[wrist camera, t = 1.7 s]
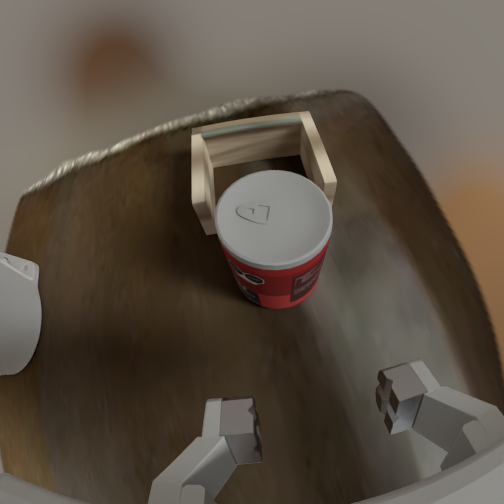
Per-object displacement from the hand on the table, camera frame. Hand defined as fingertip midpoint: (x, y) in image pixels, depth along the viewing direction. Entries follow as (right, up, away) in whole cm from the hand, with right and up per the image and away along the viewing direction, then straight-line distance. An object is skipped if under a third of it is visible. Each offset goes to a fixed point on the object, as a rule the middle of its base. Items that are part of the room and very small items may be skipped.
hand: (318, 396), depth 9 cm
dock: (-1, +12, +25) cm, 28 cm away
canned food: (0, +3, +21) cm, 21 cm away
